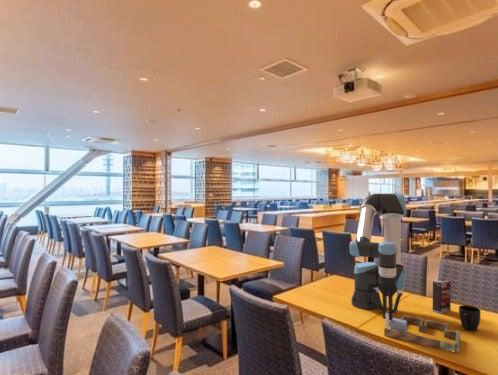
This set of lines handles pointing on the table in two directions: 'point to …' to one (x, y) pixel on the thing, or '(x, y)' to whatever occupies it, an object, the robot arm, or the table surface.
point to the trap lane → (423, 328)
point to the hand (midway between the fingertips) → (387, 326)
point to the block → (398, 325)
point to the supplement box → (441, 296)
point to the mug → (469, 317)
